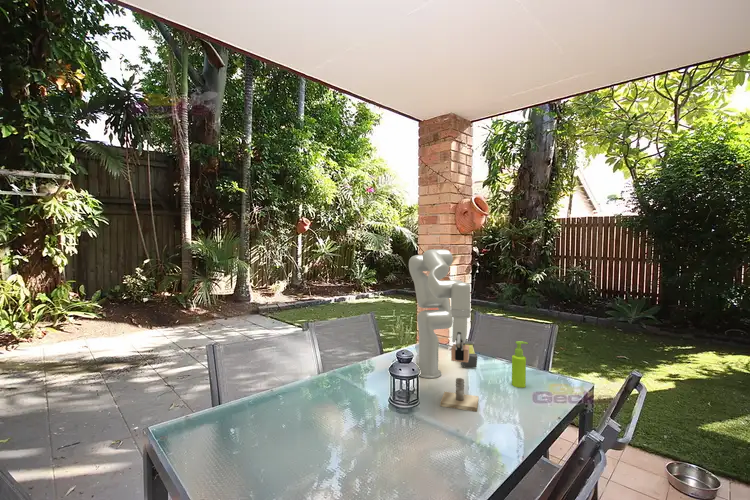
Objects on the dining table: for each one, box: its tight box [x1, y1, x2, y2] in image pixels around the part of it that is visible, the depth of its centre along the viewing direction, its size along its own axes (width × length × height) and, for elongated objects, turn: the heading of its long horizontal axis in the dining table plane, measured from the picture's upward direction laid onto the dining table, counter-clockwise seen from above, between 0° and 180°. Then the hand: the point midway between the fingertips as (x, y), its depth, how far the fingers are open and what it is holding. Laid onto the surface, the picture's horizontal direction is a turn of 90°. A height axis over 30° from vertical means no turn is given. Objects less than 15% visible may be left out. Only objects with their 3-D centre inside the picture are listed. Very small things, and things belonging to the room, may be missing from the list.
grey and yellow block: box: [460, 338, 479, 368], centre depth 200 cm, size 8×17×30 cm
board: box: [439, 377, 479, 412], centre depth 144 cm, size 14×11×10 cm
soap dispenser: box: [511, 340, 529, 389], centre depth 162 cm, size 6×7×20 cm
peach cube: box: [450, 343, 469, 363], centre depth 143 cm, size 6×6×5 cm
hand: (460, 357), depth 143 cm, fingers closed on peach cube, 6 cm apart
